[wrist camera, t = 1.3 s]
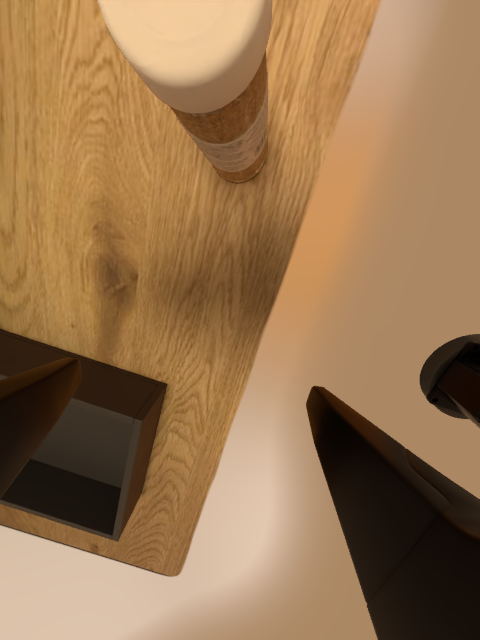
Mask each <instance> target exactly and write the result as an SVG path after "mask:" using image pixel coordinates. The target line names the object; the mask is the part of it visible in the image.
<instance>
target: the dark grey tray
mask: <svg viewBox="0 0 480 640" xmlns="http://www.w3.org/2000/svg"><path fill="white" fill-rule="evenodd" d="M63 358H76V359H78V360H79V361H80V366H81V382H80V385H79V386H78V388H77V390H76V391H75V393H74V395H73V396H72V398H71V400H70V402H69V403H68V405H67V407H66V408H65V410H64V412H63V413H62V415H61V417H60V418H59V420H58V421H57V423H56V424H55V426H54V427H53V428H52V430H51V431H50V433H49V434H48V435H47V437H46V438H45V439H44V441H43V442H42V443H41V445H40V446H39V447H38V449H37V450H36V451H35V453H34V454H33V455H32V457H31V458H30V460H29V461H28V462H27V464H26V465H25V466H24V468H23V469H22V470H21V472H20V473H19V474H18V476H17V477H16V478H15V480H14V481H13V483H12V484H11V485H10V487H9V488H8V489H7V491H6V492H5V493H4V495H3V496H2V497H1V499H0V504H3V505H6V506H9V507H12V508H15V509H18V510H21V511H24V512H27V513H31V514H34V515H37V516H40V517H43V518H46V519H49V520H52V521H55V522H58V523H62V524H65V525H68V526H71V527H74V528H77V529H80V530H83V531H86V532H89V533H92V534H96V535H99V536H102V537H105V538H108V539H112V540H114V541H118V540H119V538H120V536H121V534H122V532H123V530H124V528H125V526H126V524H127V522H128V520H129V518H130V516H131V514H132V512H133V510H134V508H135V505H136V503H137V501H138V499H139V497H140V495H141V492H142V488H143V484H144V480H145V476H146V471H147V467H148V463H149V459H150V454H151V450H152V446H153V442H154V438H155V433H156V429H157V425H158V421H159V416H160V412H161V408H162V404H163V400H164V395H165V391H166V387H167V384H164V383H161V382H158V381H155V380H152V379H149V378H146V377H143V376H140V375H137V374H134V373H131V372H128V371H125V370H122V369H119V368H116V367H113V366H109V365H106V364H103V363H100V362H97V361H94V360H91V359H88V358H85V357H82V356H79V355H76V354H73V353H70V352H67V351H64V350H61V349H58V348H55V347H52V346H49V345H46V344H43V343H40V342H37V341H33V340H30V339H27V338H24V337H21V336H18V335H15V334H12V333H9V332H6V331H3V330H0V380H3V379H6V378H8V377H11V376H14V375H17V374H20V373H23V372H26V371H29V370H31V369H34V368H37V367H40V366H43V365H46V364H49V363H52V362H54V361H57V360H60V359H63Z"/></svg>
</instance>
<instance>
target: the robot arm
mask: <svg viewBox="0 0 480 640" xmlns="http://www.w3.org/2000/svg"><path fill="white" fill-rule="evenodd" d="M473 346H474V347H473ZM472 347H473V348H472ZM471 348H472V349H471ZM80 382H81V366H80V361H79V360H78V359H76V358H63V359H60V360H57V361H54V362H52V363H49V364H46V365H43V366H40V367H37V368H34V369H31V370H29V371H26V372H23V373H20V374H17V375H14V376H11V377H8V378H6V379H3V380H0V499H1V497H2V496H3V495H4V493H5V492H6V491H7V489H8V488H9V487H10V485H11V484H12V483H13V481H14V480H15V478H16V477H17V476H18V474H19V473H20V472H21V470H22V469H23V468H24V466H25V465H26V464H27V462H28V461H29V460H30V458H31V457H32V455H33V454H34V453H35V451H36V450H37V449H38V447H39V446H40V445H41V443H42V442H43V441H44V439H45V438H46V437H47V435H48V434H49V433H50V431H51V430H52V428H53V427H54V426H55V424H56V423H57V421H58V420H59V418H60V417H61V415H62V413H63V412H64V410H65V408H66V407H67V405H68V403H69V402H70V400H71V398H72V396H73V395H74V393H75V391H76V390H77V388H78V386H79V385H80ZM433 398H434V399H433ZM426 399H427V400H428V401H429V402H430V403H431V404H433V405H436V406H439V407H442V408H445V409H448V410H451V411H454V412H458V413H461V414H464V415H466V416H467V417H468V418H469V419H470V420H471V421H472V422H473V423H475V424H476V425H477V426H478V427H479V428H480V343H479V342H476V341H469V342H467V343H466V344H465V345H464V347H463V348H462V349H461V351H460V352H459V353H458V355H457V356H456V357H455V359H454V360H453V361H452V363H451V364H450V365H449V367H448V368H447V369H446V371H445V372H444V373H443V375H442V376H441V377H440V379H439V380H438V381H437V383H436V384H435V385H434V387H433V388H432V389H431V391H430V392H429V393H428V395H427V397H426ZM306 407H307V412H308V417H309V422H310V426H311V431H312V435H313V439H314V444H315V447H316V450H317V453H318V457H319V460H320V462H321V466H322V469H323V472H324V475H325V478H326V481H327V484H328V487H329V490H330V493H331V496H332V499H333V503H334V506H335V508H336V512H337V515H338V518H339V521H340V524H341V527H342V530H343V533H344V536H345V539H346V543H347V546H348V549H349V552H350V555H351V558H352V561H353V564H354V567H355V570H356V573H357V576H358V579H359V582H360V585H361V589H362V592H363V594H364V598H365V601H366V603H368V604H367V608H368V611H369V614H370V617H371V620H372V623H373V626H374V629H375V632H376V635H377V638H378V640H480V499H478V498H477V497H475V496H474V495H472V494H471V493H469V492H468V491H466V490H465V489H463V488H462V487H460V486H459V485H457V484H456V483H454V482H453V481H451V480H450V479H449V478H447V477H446V476H444V475H443V474H441V473H440V472H438V471H437V470H435V469H434V468H433V467H431V466H430V465H428V464H427V463H426V462H424V461H423V460H422V459H420V458H419V457H417V456H416V455H415V454H413V453H412V452H411V451H409V450H408V449H405V447H404V446H402V445H401V444H400V443H398V442H397V441H396V440H394V439H393V438H391V437H390V436H389V435H387V434H386V433H385V432H383V431H382V430H381V429H379V428H378V427H377V426H375V425H374V424H373V423H371V422H370V421H368V420H367V419H366V418H364V417H363V416H362V415H360V414H359V413H358V412H356V411H355V410H354V409H352V408H351V407H349V406H348V405H347V404H345V403H344V402H343V401H341V400H340V399H338V398H337V397H336V396H335V395H333V394H332V393H330V392H329V391H328V390H326V389H325V388H324V387H319V386H313V387H312V389H311V391H310V394H309V396H308V399H307V403H306Z"/></svg>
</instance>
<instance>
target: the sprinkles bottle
mask: <svg viewBox="0 0 480 640" xmlns="http://www.w3.org/2000/svg"><path fill="white" fill-rule="evenodd" d="M98 4H99V7H100V10H101V13H102V16H103V18H104V21H105V23H106V25H107V27H108V30H109V32H110V34H111V36H112V38H113V39H114V41H115V43H116V44H117V46H118V48H119V49H120V51H121V52H122V53H123V55H124V56H125V58H126V59H127V60H128V62H129V63H130V65H131V66H132V67H133V69H134V70H135V71H136V73H137V74H138V75H139V76H140V78H141V79H142V80H143V81H144V83H145V84H146V85H147V86H148V88H149V89H150V90H151V91H152V92H153V93H154V94H155V95H156V97H158V98H159V99H160V100H161V101H162V102H164V103H165V104H167V105H168V106H170V108H171V109H172V110H173V112H174V113H175V114H176V116H177V118H178V120H179V122H180V123H181V125H182V126H183V127H184V129H185V130H186V131H187V133H188V134H189V135H190V136H191V138H192V139H193V140H194V142H195V143H196V144H197V146H198V147H199V148H200V150H201V151H202V152H203V154H204V155H205V156H206V157H207V159H208V160H209V161H210V162H211V163H212V165H213V167H214V169H215V170H216V171H217V173H218V174H219V175H220V176H221V177H222V178H224V179H226V180H227V181H230V182H234V183H242V182H245V181H248V180H250V179H251V178H253V177H254V176H255V175H256V174H257V173H258V172H259V171H260V170H261V168H262V166H263V164H264V162H265V159H266V156H267V147H268V142H267V114H268V72H267V64H266V47H267V43H268V39H269V34H270V28H271V19H272V0H98Z"/></svg>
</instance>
